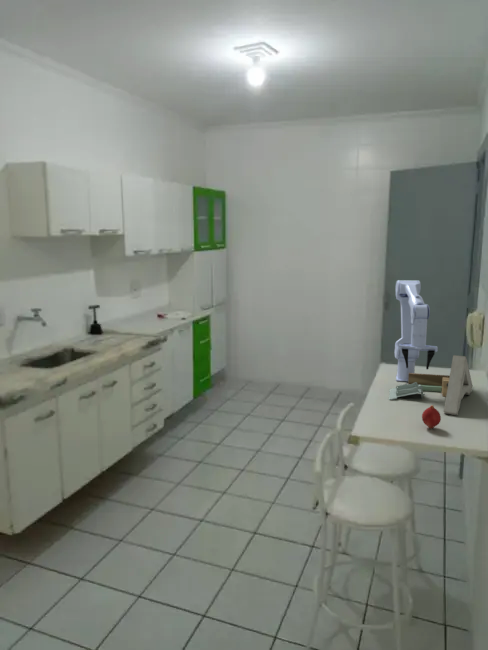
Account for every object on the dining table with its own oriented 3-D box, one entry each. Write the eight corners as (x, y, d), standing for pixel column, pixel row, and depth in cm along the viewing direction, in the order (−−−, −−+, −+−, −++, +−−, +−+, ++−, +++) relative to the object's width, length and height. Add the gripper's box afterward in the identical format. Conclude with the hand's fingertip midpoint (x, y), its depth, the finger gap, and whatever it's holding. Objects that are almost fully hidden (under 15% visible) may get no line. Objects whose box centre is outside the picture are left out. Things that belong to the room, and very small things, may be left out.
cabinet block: (441, 392, 206) (442, 377, 205) (453, 393, 205) (454, 378, 204) (442, 397, 201) (443, 381, 200) (454, 398, 200) (455, 382, 199)
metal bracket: (421, 378, 207) (422, 388, 193) (424, 392, 208) (426, 403, 194) (385, 385, 212) (384, 396, 198) (389, 398, 212) (388, 410, 198)
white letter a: (464, 437, 202) (456, 413, 178) (453, 435, 204) (443, 411, 180) (472, 386, 209) (465, 356, 186) (461, 384, 212) (453, 355, 188)
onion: (418, 425, 170) (419, 402, 169) (435, 424, 171) (436, 402, 169) (425, 431, 165) (427, 408, 163) (443, 431, 165) (444, 407, 164)
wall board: (408, 384, 219) (408, 372, 218) (453, 387, 214) (453, 375, 213) (408, 385, 218) (408, 373, 217) (453, 388, 212) (454, 376, 212)
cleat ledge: (410, 385, 217) (410, 380, 217) (450, 388, 213) (451, 383, 212) (411, 389, 211) (411, 385, 210) (452, 392, 206) (452, 388, 206)
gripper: (399, 335, 201) (398, 369, 203) (438, 337, 197) (437, 371, 199) (399, 332, 207) (398, 365, 210) (437, 334, 203) (435, 367, 205)
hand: (417, 368), depth 205 cm, fingers open, 7 cm apart
